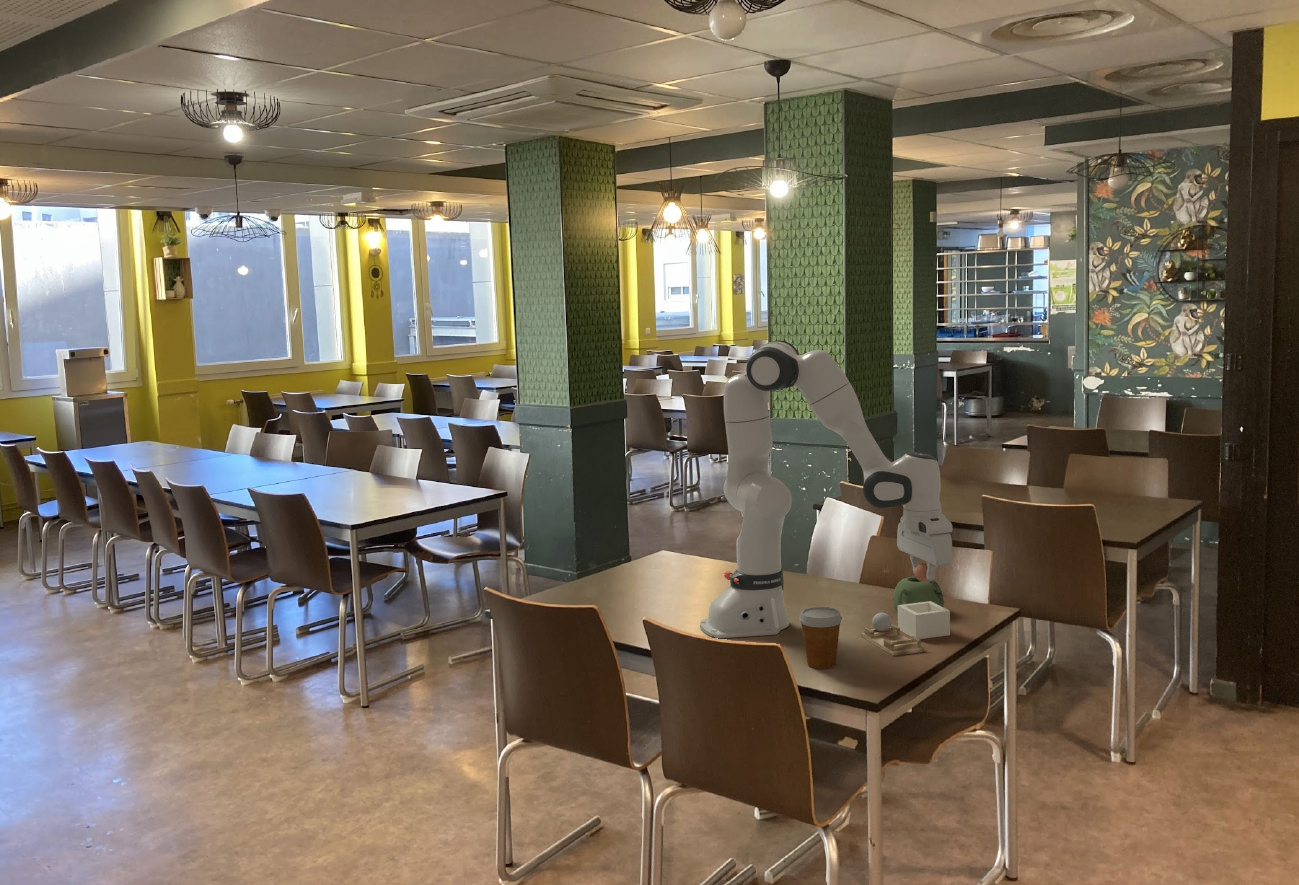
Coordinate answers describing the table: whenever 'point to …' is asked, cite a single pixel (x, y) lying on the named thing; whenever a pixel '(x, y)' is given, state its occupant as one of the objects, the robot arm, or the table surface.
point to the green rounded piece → (917, 592)
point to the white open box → (924, 620)
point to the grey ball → (882, 622)
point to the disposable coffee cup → (820, 635)
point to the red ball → (921, 572)
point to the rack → (893, 641)
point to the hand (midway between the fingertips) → (923, 576)
